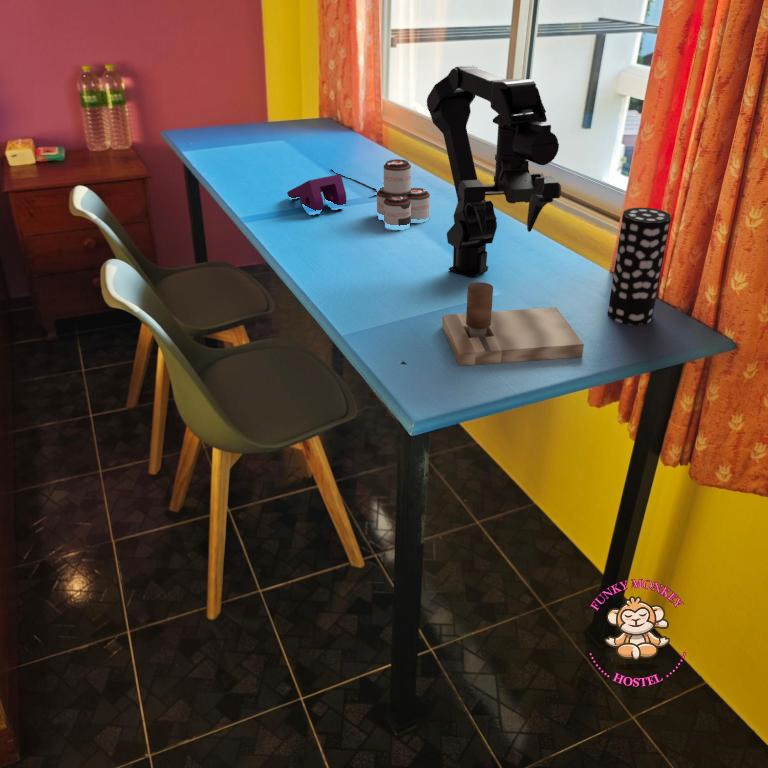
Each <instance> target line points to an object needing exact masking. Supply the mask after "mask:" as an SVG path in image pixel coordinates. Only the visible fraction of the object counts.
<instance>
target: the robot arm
mask: <svg viewBox="0 0 768 768" xmlns="http://www.w3.org/2000/svg"><path fill="white" fill-rule="evenodd" d="M476 96H477V97H479V98H481V99H484V100H485V101H488V102H489V103H490V108H491V110H493V111H494V112H496V113H497V115H496V116H494V118H492V123H493V124H495V125H497V136H496V137H497V139H496V154H494V160H495V170H494V175H493V182H494V184H483V182H482V181H480V179H478V176H477V175H478V174H477V172H476V167H475V166H476V165H475V162H474V156H473V152H472V147H471V143H470V138H469V135H468V130H467V125H468V122H469V118H470V115H471V104H472V103H473V101H474V99H476ZM426 107H427V110H428V112H429V115H430V118H431V120H432V123H433V125H434V126H435V127H436V128H437V129H438V130H439V131H440V132H441V133H442V135H443V138H444V142H445V148H446V153H447V157H448V161H449V166H450V171H451V175H452V181H453V184H454V189H455V194H456V198H457V203H456V207H455V210H454V213H453V222H454V224H453V225H452V226H451V227H450V228H449V229H448V231H447V232H446V240H447V243H448V244H449V245H450V246H452V247H453V255H452V257H453V258H452V266H450V267H448V271H449V270H450V271H449V272H451V271H453V272H452V273H455V272H456V273H455V274H459V275H462V276H466V277H470V278H474V277H477V276H478V275H480V274H482V273H483V272H486V271H487V270H488V269H489V266H488V265H487V263H488V262H487V261H488V260H487V259H488V252H487V251H486V249H487V245H488V244H489V245H490V244H493V241H494V238H495V234H496V232H497V228H498V222H497V216H496V214H495V210H494V204H493V202H492V200H486V196H498V195H500V196H501V195H504V196H505V201H506V202H507V203H509V204H515V203H516V204H517V203H526V204H527V203H528V210H527V211H528V212H527V220H526V229H527V231H528V232H529V233H531V232H532V230H533V227H534V225H535V223H536V222H537V220H538V217H539V214H541V212H542V210H543V208H544V207H545V206H546V205H547V204H549V203H553V201H554V199H560V198H561V194H562V186H561V184H560V183H559V181H557V180H556V179H555V178H554V177H553V176H552V175H548V176H546V175H544V173H530V168H529V162H532V163H534V164H537V165H539V166H546V165H549V164H550V163H551V162H552V161H553V160H555V158H556V156H557V154H558V152H559V148H560V144H559V140H558V137H557V135H555V133H553V132H551V131H552V125H551V124H549V123H547V121H548V119H547V115H546V112H547V111H546V108H545V107H544V104H543V101H542V98H541V95H540V91H539V89H538V87H537V84H536V82H535V81H534V80H533V79H530V78H528V79H527V78H514V79H511V78H510V79H508V78H503V77H501V76H498V75H495V74H493V73H491V72H487V71H485V70H482V69H479V68H478V67H477V66H474V65H463V66H455V67H454V68H451V70H450V71H449V73H448V74H447V75H446V76H445V77H444V78H442V79H441V80H440V81H438V82H437V83H436V84H435V85H433V87H432V89H431V90H430V93H428V95H427V97H426Z"/></svg>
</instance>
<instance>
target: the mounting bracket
mask: <svg viewBox="0 0 768 768" xmlns="http://www.w3.org/2000/svg"><path fill="white" fill-rule="evenodd" d="M342 177H343V176H341V174H334V175H329V176H324V177H319V178H314V179H310V180H307V181H306V182H303V183H302V184H299V185H298V186H296V187H294V188H292V189H290V190H288V191H287V197H288V196H289V197H291V198H296V197H300V199H299V200H300V203H302V204H304V205H305V206H307V207H309V208H311V209H313V210H315V211H316V210H321V209H324V200H325V199H326V200H328V201H331V202H333V203H334V204H337V205H343V204H346V205H347V193H346V190H345V189H346V188H345V185H344V181H343V178H342ZM302 204H301V205H302Z"/></svg>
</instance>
